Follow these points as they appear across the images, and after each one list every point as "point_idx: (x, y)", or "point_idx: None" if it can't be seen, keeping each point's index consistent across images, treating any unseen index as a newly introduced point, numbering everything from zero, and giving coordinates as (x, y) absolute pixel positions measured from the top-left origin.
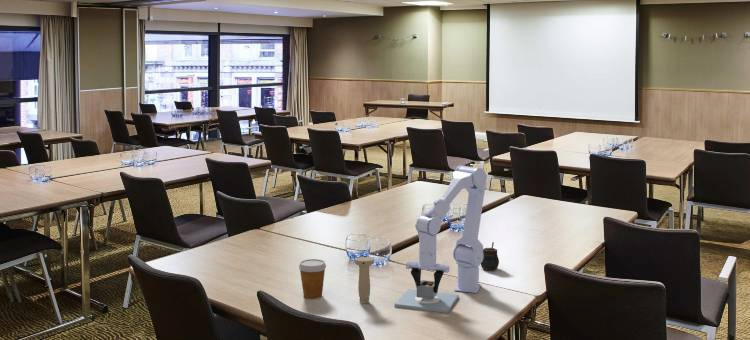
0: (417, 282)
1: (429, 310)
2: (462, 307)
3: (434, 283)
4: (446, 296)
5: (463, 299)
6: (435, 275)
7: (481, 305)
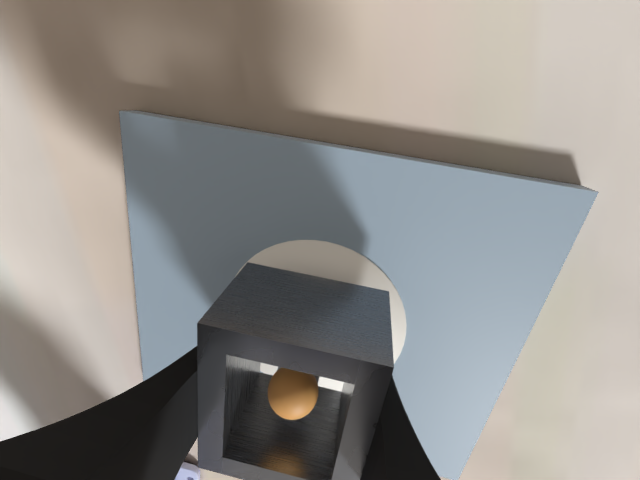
0: (388, 431)
1: (272, 134)
2: (86, 241)
3: (214, 429)
4: None
5: (124, 363)
6: (56, 473)
7: (8, 284)
